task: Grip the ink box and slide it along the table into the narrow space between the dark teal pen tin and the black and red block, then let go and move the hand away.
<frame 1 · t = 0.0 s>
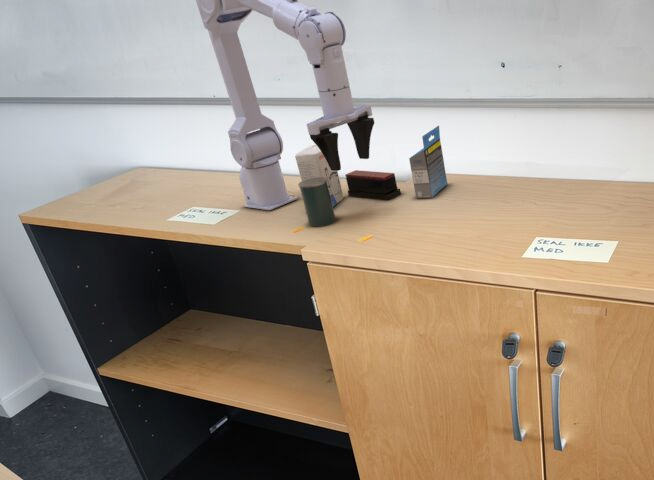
hand: (350, 164, 130), 10 cm above the table, tool pointing down, fingers open, 7 cm apart
ink box: (327, 205, 144), on the table
black and red block: (374, 195, 146), on the table
pen tin: (322, 222, 134), on the table
blue grey hanging carton: (432, 192, 142), on the table
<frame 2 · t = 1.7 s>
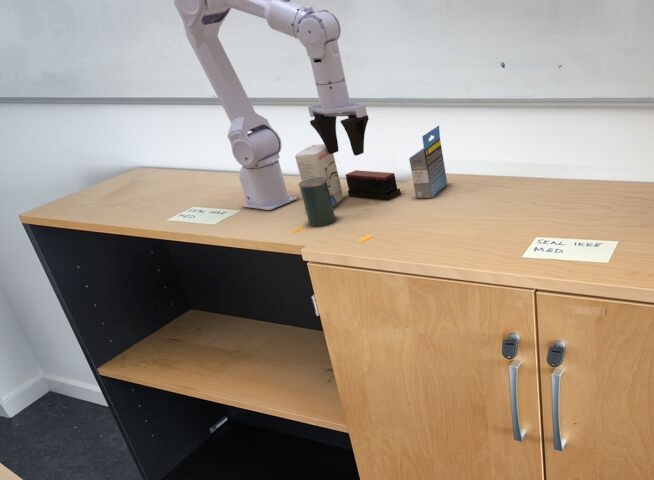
hand: (346, 153, 137), 10 cm above the table, tool pointing down, fingers open, 7 cm apart
ink box: (327, 205, 144), on the table, touching gripper
everything else where it was.
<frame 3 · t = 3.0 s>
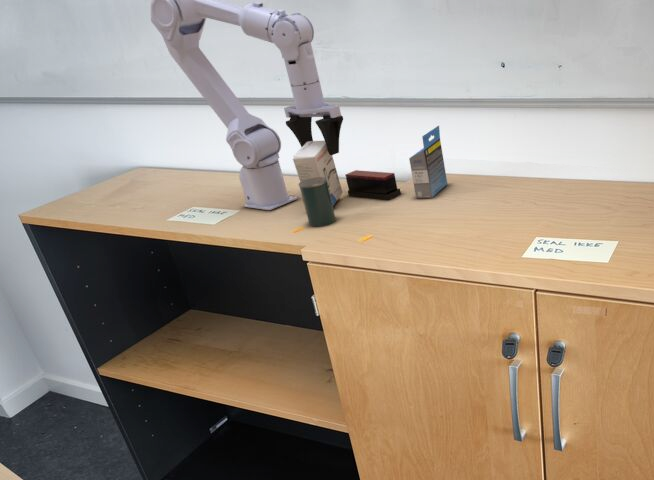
hand: (321, 153, 140), 10 cm above the table, tool pointing down, fingers open, 7 cm apart
ink box: (326, 202, 144), on the table
everything else where it was.
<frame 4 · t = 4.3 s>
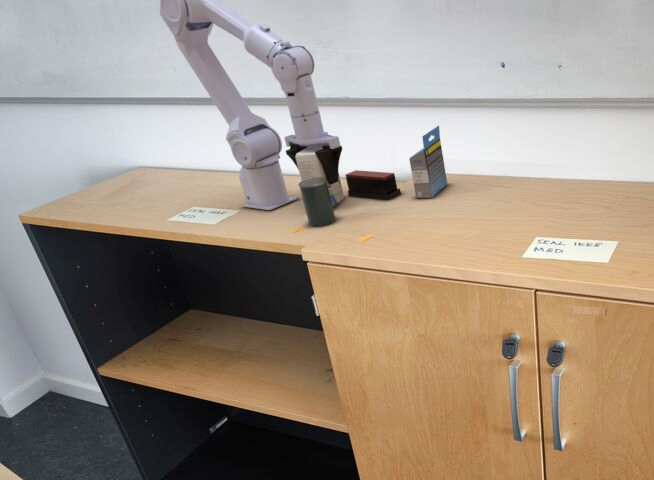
hand: (321, 181, 142), 5 cm above the table, tool pointing down
ink box: (327, 205, 144), on the table, touching gripper
everything else where it was.
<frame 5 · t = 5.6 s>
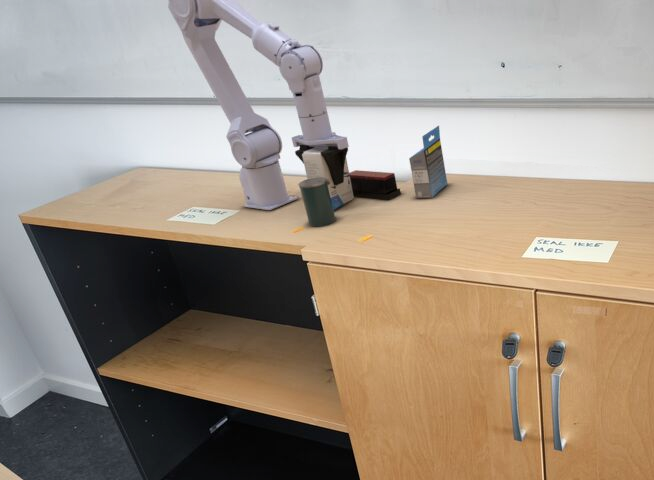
hand: (329, 182, 141), 5 cm above the table, tool pointing down, fingers closed on ink box, 6 cm apart
ink box: (334, 205, 143), on the table, touching gripper
everything else where it was.
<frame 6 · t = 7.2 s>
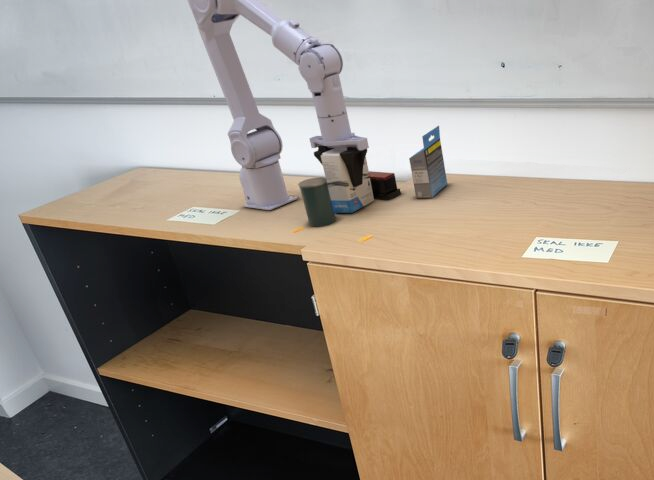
hand: (347, 184, 137), 5 cm above the table, tool pointing down, fingers closed on ink box, 5 cm apart
ink box: (354, 207, 140), on the table, touching gripper
everything else where it was.
when the fingers open (5 cm above the table, at t = 7.6 s): ink box stays where it is, on the table.
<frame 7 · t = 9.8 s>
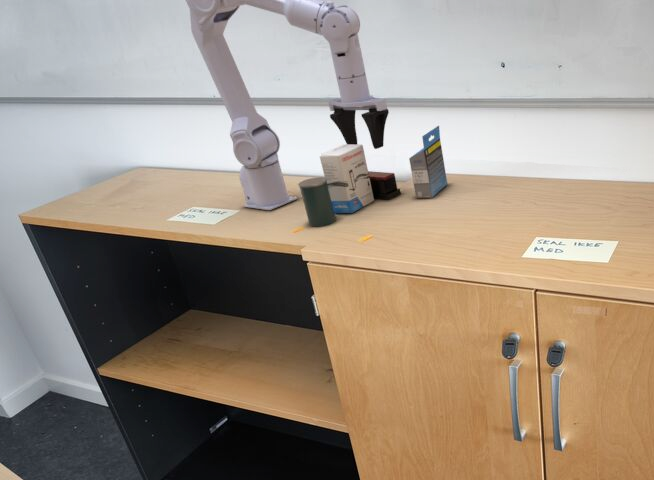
hand: (365, 146, 139), 10 cm above the table, tool pointing down, fingers open, 7 cm apart
ink box: (354, 207, 140), on the table
everything else where it was.
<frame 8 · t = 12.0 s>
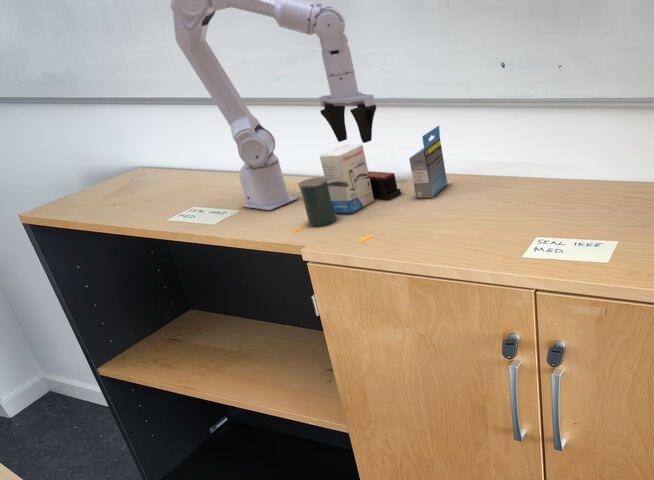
hand: (354, 141, 146), 10 cm above the table, tool pointing down, fingers open, 7 cm apart
nothing on the table moved.
at the end: ink box 0.8 cm from the target spot, on the table; ink box tilted 0°; pen tin moved 0.0 cm from its start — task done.
